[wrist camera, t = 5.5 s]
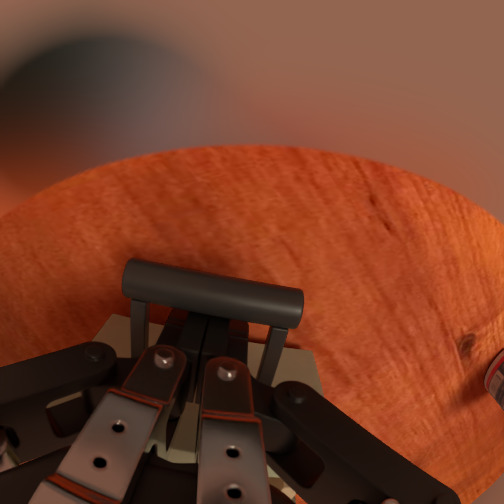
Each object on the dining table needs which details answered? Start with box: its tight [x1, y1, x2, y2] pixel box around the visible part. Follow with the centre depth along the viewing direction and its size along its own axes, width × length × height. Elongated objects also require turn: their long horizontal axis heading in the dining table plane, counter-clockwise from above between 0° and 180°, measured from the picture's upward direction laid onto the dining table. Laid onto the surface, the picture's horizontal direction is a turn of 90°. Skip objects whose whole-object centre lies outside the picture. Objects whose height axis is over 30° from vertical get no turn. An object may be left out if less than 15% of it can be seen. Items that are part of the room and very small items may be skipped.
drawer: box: [46, 258, 324, 500], centre depth 14 cm, size 20×12×8 cm, turn 169°
